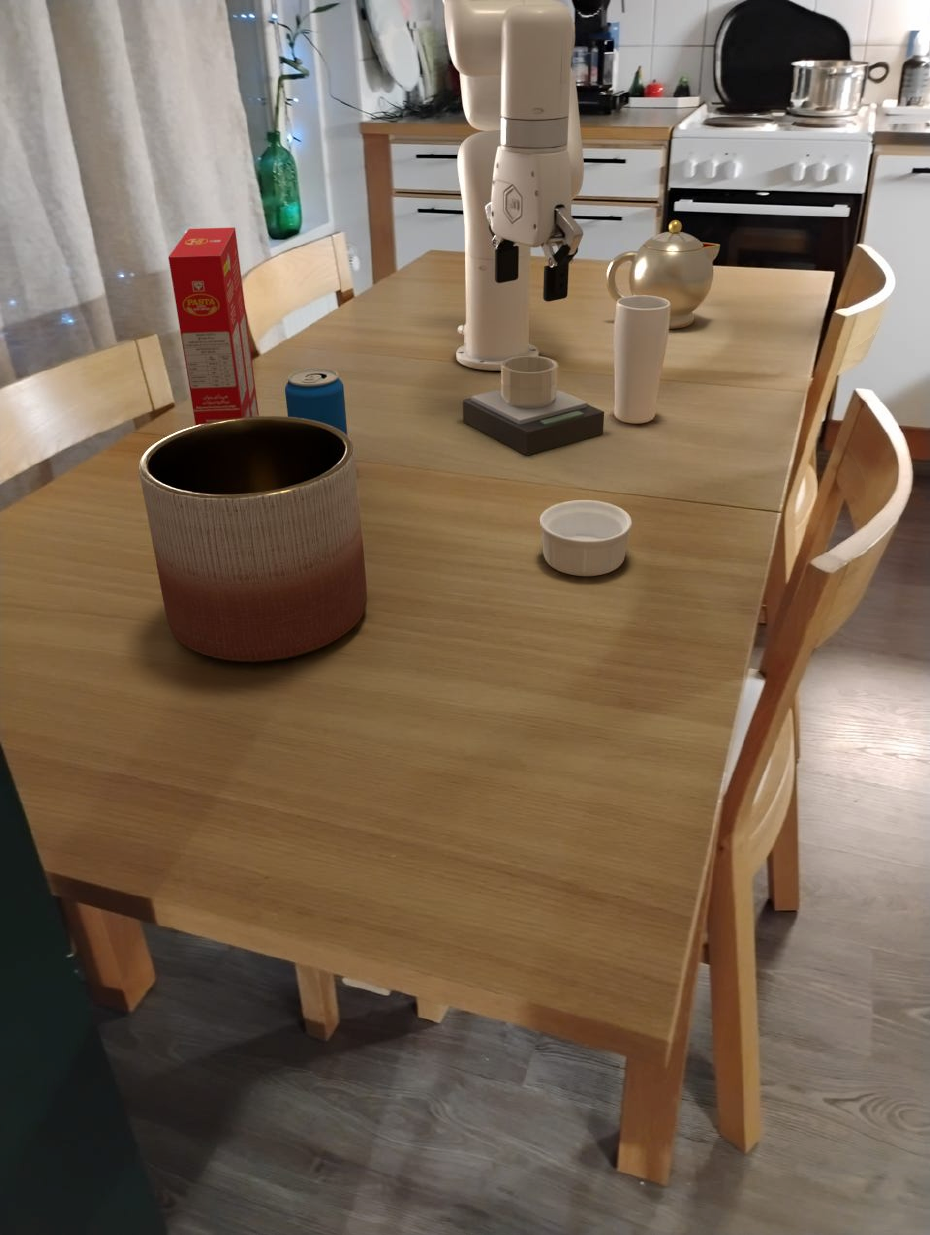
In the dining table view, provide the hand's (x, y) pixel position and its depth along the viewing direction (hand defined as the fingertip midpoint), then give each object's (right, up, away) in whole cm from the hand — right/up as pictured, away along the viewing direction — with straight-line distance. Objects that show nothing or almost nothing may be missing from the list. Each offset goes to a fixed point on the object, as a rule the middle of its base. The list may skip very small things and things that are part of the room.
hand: (530, 290), depth 121 cm
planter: (-26, -40, -30) cm, 56 cm away
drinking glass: (+14, -14, +10) cm, 22 cm away
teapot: (+24, +10, +48) cm, 55 cm away
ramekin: (+4, -34, -22) cm, 41 cm away
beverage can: (-25, -23, -4) cm, 34 cm away
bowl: (0, -12, +6) cm, 14 cm away
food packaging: (-36, -20, +2) cm, 41 cm away
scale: (+1, -15, +8) cm, 17 cm away
